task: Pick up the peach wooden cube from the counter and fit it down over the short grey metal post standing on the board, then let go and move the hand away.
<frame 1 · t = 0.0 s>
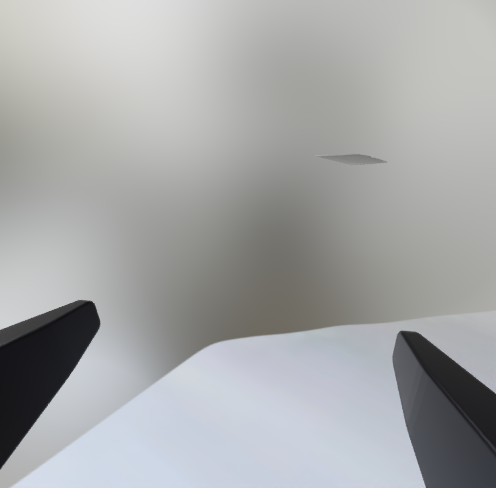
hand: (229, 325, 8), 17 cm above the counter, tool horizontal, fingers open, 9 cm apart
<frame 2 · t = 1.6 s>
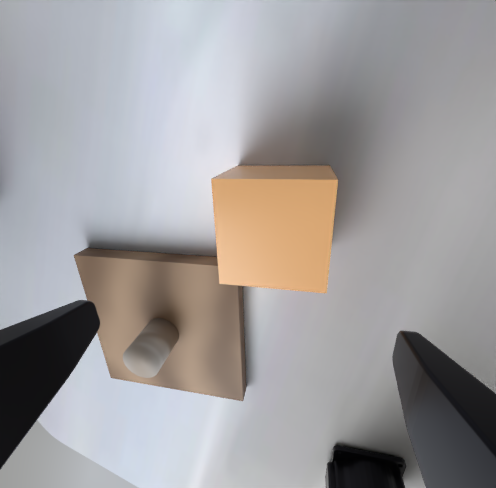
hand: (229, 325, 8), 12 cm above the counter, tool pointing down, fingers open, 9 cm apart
post board: (170, 321, 25), on the counter
peach wooden cube: (281, 209, 19), on the counter
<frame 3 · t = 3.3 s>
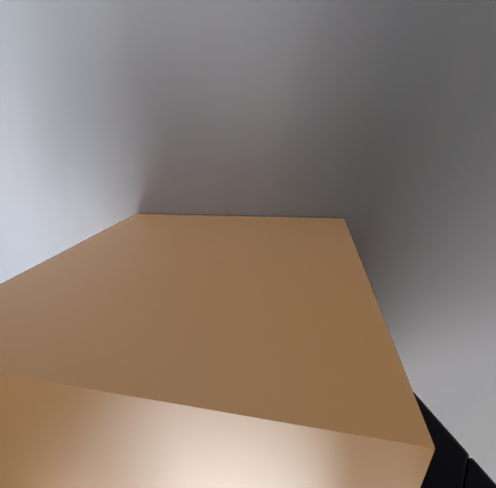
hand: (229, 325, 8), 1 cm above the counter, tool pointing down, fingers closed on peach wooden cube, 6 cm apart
peach wooden cube: (237, 304, 9), on the counter, touching gripper
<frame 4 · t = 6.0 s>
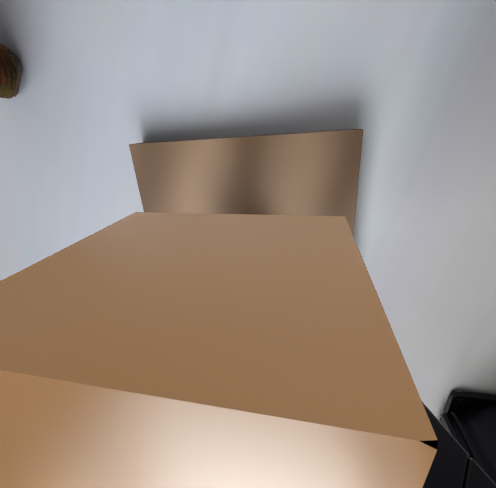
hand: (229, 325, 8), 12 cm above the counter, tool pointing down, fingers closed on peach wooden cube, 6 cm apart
bolt: (10, 73, 18), on the counter
post board: (247, 238, 20), on the counter
peach wooden cube: (238, 302, 9), point 11 cm above the counter, touching gripper
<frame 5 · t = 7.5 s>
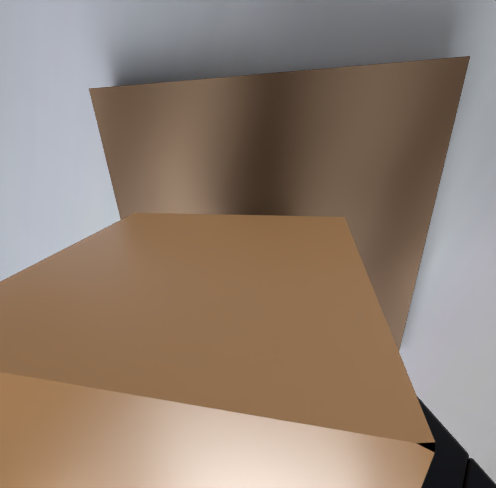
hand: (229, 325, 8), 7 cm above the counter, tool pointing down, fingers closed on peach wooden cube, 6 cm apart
post board: (262, 235, 14), on the counter
peach wooden cube: (237, 303, 9), point 6 cm above the counter, touching gripper
when the fingers open (4 cm above the counter, at t = 8.7 s): peach wooden cube drops 1 cm, resting on post board.
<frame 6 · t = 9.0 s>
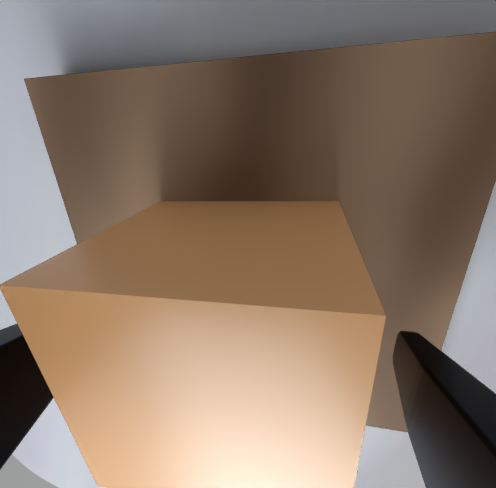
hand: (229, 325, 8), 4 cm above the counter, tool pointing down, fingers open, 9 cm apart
post board: (253, 262, 11), on the counter
peach wooden cube: (247, 280, 10), point 1 cm above the counter, touching post board
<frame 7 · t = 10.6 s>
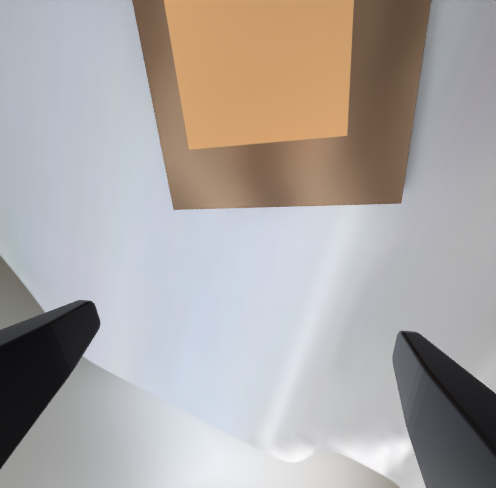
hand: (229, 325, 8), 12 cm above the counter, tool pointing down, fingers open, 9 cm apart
post board: (275, 79, 15), on the counter
peach wooden cube: (273, 74, 14), point 1 cm above the counter, touching post board
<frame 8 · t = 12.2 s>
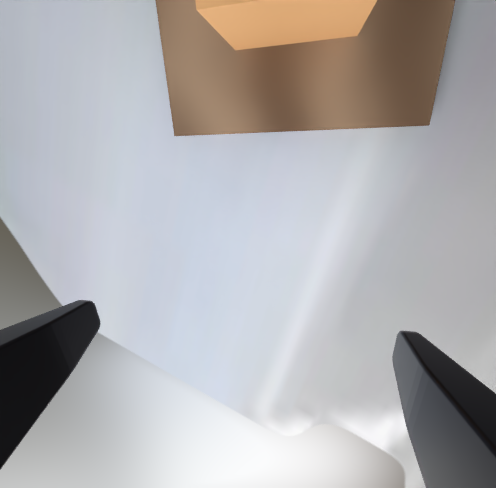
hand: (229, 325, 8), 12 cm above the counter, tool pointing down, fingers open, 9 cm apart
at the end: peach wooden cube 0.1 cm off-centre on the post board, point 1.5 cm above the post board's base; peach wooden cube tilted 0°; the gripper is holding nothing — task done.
